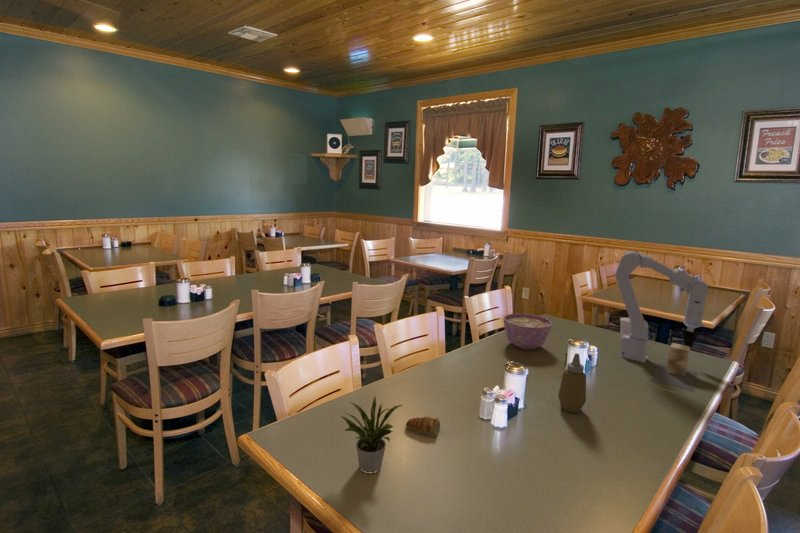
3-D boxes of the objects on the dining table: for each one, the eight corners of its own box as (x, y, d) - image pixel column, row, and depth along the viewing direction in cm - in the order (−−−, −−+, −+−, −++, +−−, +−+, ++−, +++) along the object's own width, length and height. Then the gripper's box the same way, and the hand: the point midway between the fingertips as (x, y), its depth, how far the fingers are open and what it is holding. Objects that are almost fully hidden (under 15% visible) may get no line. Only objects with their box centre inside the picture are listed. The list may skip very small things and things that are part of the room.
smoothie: (635, 342, 205) (639, 312, 202) (621, 341, 205) (625, 312, 202) (628, 337, 211) (632, 308, 209) (614, 337, 211) (618, 308, 209)
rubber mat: (650, 381, 164) (650, 380, 164) (658, 364, 180) (658, 363, 180) (692, 392, 156) (692, 391, 156) (697, 373, 173) (697, 372, 173)
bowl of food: (491, 344, 195) (494, 318, 193) (517, 335, 209) (520, 310, 207) (533, 358, 181) (535, 331, 179) (558, 347, 194) (561, 321, 192)
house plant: (384, 442, 119) (386, 384, 116) (414, 471, 108) (417, 407, 105) (334, 458, 112) (335, 396, 109) (360, 491, 100) (362, 423, 97)
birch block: (666, 371, 172) (670, 346, 170) (668, 367, 177) (672, 342, 175) (684, 376, 168) (688, 350, 166) (686, 371, 173) (690, 346, 171)
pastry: (403, 434, 124) (404, 421, 123) (408, 422, 130) (408, 409, 130) (437, 439, 122) (438, 426, 121) (440, 426, 129) (441, 414, 128)
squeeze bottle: (585, 406, 143) (592, 352, 140) (583, 417, 136) (590, 361, 133) (558, 400, 147) (564, 347, 143) (555, 411, 140) (561, 355, 136)
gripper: (705, 317, 166) (699, 352, 168) (708, 309, 177) (702, 342, 180) (683, 313, 170) (677, 347, 172) (687, 306, 181) (681, 338, 184)
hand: (688, 345), depth 176 cm, fingers open, 7 cm apart
